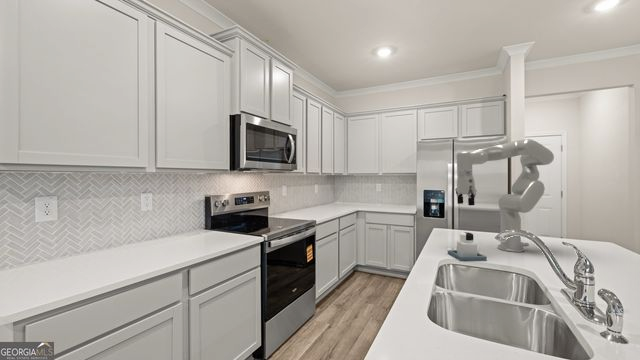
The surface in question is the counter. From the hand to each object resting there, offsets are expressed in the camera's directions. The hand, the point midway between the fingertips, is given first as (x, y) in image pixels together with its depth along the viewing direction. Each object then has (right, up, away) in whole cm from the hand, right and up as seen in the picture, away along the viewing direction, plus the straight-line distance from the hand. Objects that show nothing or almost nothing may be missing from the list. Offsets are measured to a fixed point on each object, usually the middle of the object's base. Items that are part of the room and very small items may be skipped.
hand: (465, 204), depth 152 cm
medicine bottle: (-5, -26, -11) cm, 29 cm away
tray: (-6, -26, -11) cm, 29 cm away
